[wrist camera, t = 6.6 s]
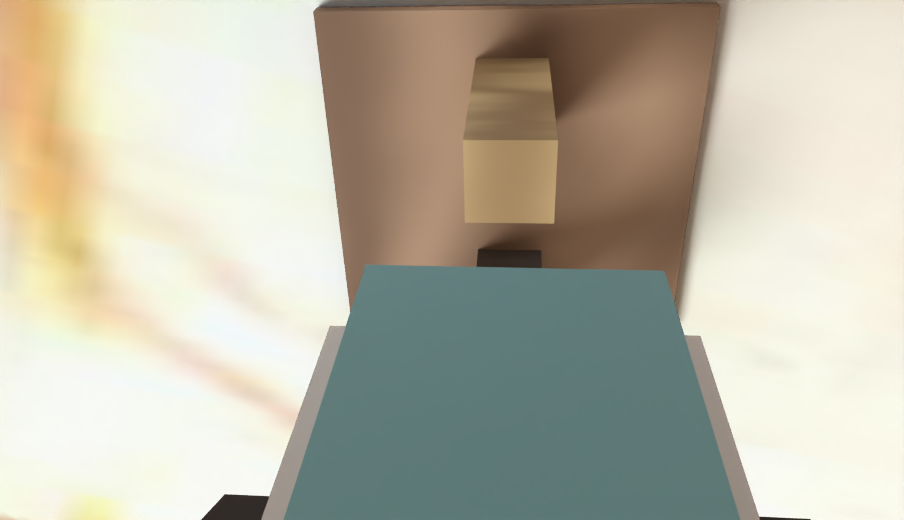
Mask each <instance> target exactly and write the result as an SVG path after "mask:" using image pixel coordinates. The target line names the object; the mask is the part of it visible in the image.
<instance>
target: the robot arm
mask: <svg viewBox="0 0 904 520" xmlns="http://www.w3.org/2000/svg"><path fill="white" fill-rule="evenodd" d="M345 328H346V326H330V328H329V330H328V333H327V336H326V339H325V342H324V344H323V347H322V350H321V353H320V356H319V358H318V361H317V364H316V367H315V370H314V373H313V375H312V378H311V381H310V384H309V387H308V389H307V392H306V395H305V398H304V401H303V403H302V406H301V409H300V412H299V415H298V417H297V420H296V423H295V426H294V429H293V432H292V434H291V437H290V440H289V443H288V446H287V448H286V451H285V454H284V457H283V460H282V462H281V465H280V468H279V471H278V474H277V477H276V479H275V482H274V485H273V488H272V491H271V493H270V496H249V495H227V494H225V495H224V496H223V497H222V498H221V499H220V500H219V501H218V502H217V503H216V505H215V506H214V507H213V508H212V509H211V510H210V511H209V512H208V513H207V514H206V515H205V516H204V517H203V518H202V520H284V517H285V514H286V511H287V507H288V504H289V501H290V498H291V495H292V492H293V489H294V486H295V483H296V480H297V476H298V473H299V470H300V467H301V464H302V461H303V458H304V455H305V452H306V448H307V445H308V442H309V439H310V436H311V433H312V430H313V427H314V424H315V421H316V417H317V414H318V411H319V408H320V405H321V402H322V399H323V396H324V393H325V390H326V386H327V383H328V380H329V377H330V374H331V371H332V368H333V365H334V362H335V359H336V355H337V352H338V349H339V346H340V343H341V340H342V337H343V334H344V331H345ZM684 336H685V339H686V342H687V346H688V349H689V352H690V356H691V359H692V362H693V365H694V369H695V372H696V375H697V379H698V382H699V385H700V389H701V392H702V395H703V398H704V402H705V405H706V408H707V412H708V415H709V418H710V421H711V425H712V428H713V431H714V435H715V438H716V441H717V445H718V448H719V451H720V454H721V458H722V461H723V464H724V468H725V471H726V474H727V477H728V481H729V484H730V487H731V491H732V494H733V497H734V501H735V504H736V507H737V510H738V514H739V517H740V520H810V519H796V518H775V517H759V515H758V512H757V509H756V506H755V503H754V500H753V497H752V494H751V491H750V488H749V485H748V481H747V478H746V475H745V472H744V469H743V466H742V463H741V460H740V457H739V454H738V451H737V448H736V445H735V441H734V438H733V435H732V432H731V429H730V426H729V423H728V420H727V417H726V414H725V411H724V408H723V404H722V401H721V398H720V395H719V392H718V389H717V386H716V383H715V380H714V377H713V374H712V371H711V367H710V364H709V361H708V358H707V355H706V352H705V349H704V346H703V343H702V340H701V337H700V336H686V335H684Z"/></svg>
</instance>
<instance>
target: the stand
mask: <svg viewBox="0 0 904 520" xmlns="http://www.w3.org/2000/svg"><path fill="white" fill-rule="evenodd" d="M719 13H720V6H719V5H718V4H717V3H668V4H581V5H494V6H407V7H321V8H316V9H315V11H314V20H315V28H316V37H317V45H318V53H319V61H320V69H321V77H322V85H323V93H324V102H325V110H326V118H327V126H328V134H329V142H330V150H331V158H332V166H333V175H334V183H335V191H336V199H337V207H338V215H339V223H340V231H341V239H342V248H343V256H344V264H345V272H346V280H347V288H348V296H349V304H350V312H351V309H352V306H353V303H354V300H355V297H356V293H357V290H358V287H359V284H360V281H361V278H362V275H363V272H364V269H365V266H366V265H406V266H456V267H505V268H554V269H603V270H653V271H665V273H666V277H667V280H668V283H669V286H670V290H671V293H672V296H673V300H674V302H675V296H676V289H677V283H678V277H679V270H680V264H681V257H682V251H683V245H684V238H685V232H686V225H687V219H688V212H689V206H690V200H691V193H692V187H693V180H694V174H695V167H696V161H697V155H698V148H699V142H700V135H701V129H702V122H703V116H704V110H705V103H706V97H707V90H708V84H709V78H710V71H711V65H712V58H713V52H714V45H715V39H716V33H717V26H718V20H719Z"/></svg>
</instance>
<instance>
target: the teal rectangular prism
mask: <svg viewBox="0 0 904 520" xmlns="http://www.w3.org/2000/svg"><path fill="white" fill-rule="evenodd" d="M284 520H740V517H739V514H738V510H737V507H736V504H735V501H734V497H733V494H732V491H731V487H730V484H729V481H728V477H727V474H726V471H725V468H724V464H723V461H722V458H721V454H720V451H719V448H718V445H717V441H716V438H715V435H714V431H713V428H712V425H711V421H710V418H709V415H708V412H707V408H706V405H705V402H704V398H703V395H702V392H701V389H700V385H699V382H698V379H697V375H696V372H695V369H694V365H693V362H692V359H691V356H690V352H689V349H688V346H687V342H686V339H685V336H684V333H683V329H682V326H681V323H680V319H679V316H678V313H677V309H676V306H675V303H674V300H673V296H672V293H671V290H670V286H669V283H668V280H667V277H666V273H665V271H653V270H603V269H554V268H505V267H456V266H406V265H366V266H365V269H364V272H363V275H362V278H361V281H360V284H359V287H358V290H357V293H356V297H355V300H354V303H353V306H352V309H351V312H350V315H349V318H348V321H347V324H346V328H345V331H344V334H343V337H342V340H341V343H340V346H339V349H338V352H337V355H336V359H335V362H334V365H333V368H332V371H331V374H330V377H329V380H328V383H327V386H326V390H325V393H324V396H323V399H322V402H321V405H320V408H319V411H318V414H317V417H316V421H315V424H314V427H313V430H312V433H311V436H310V439H309V442H308V445H307V448H306V452H305V455H304V458H303V461H302V464H301V467H300V470H299V473H298V476H297V480H296V483H295V486H294V489H293V492H292V495H291V498H290V501H289V504H288V507H287V511H286V514H285V517H284Z"/></svg>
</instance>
